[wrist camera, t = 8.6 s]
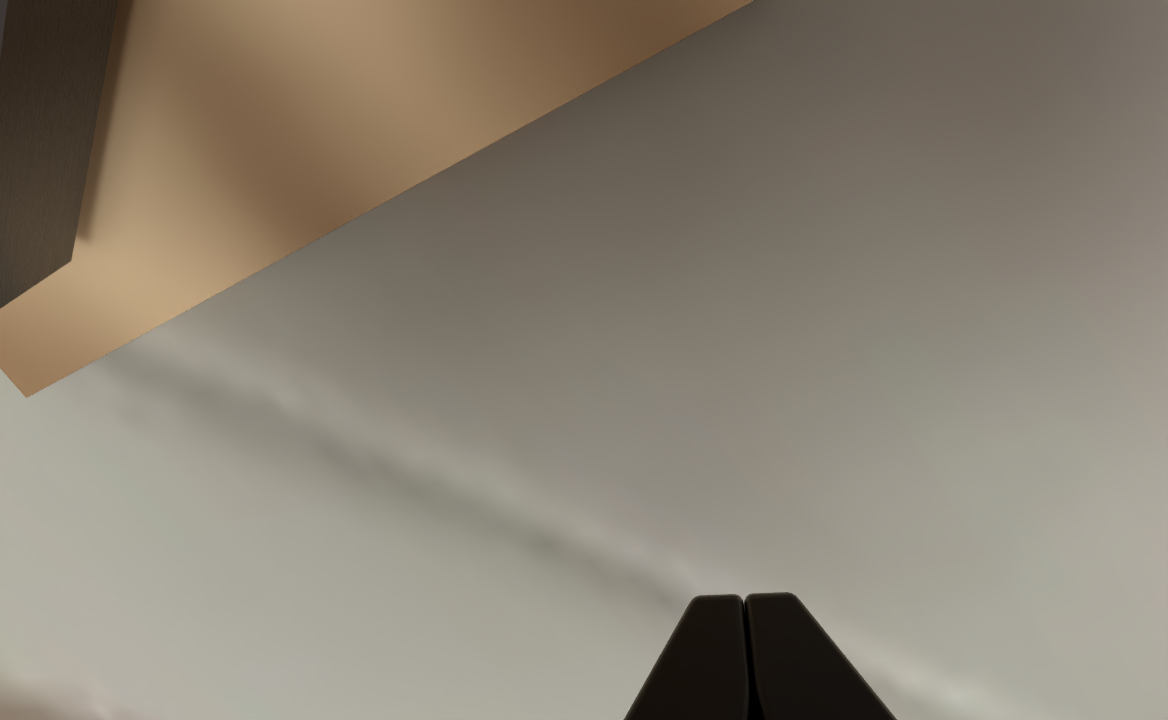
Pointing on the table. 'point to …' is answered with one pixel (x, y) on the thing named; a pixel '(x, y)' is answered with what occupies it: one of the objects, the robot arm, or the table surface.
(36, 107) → the peg knob
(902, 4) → the table surface
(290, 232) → the tuner board
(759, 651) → the robot arm
